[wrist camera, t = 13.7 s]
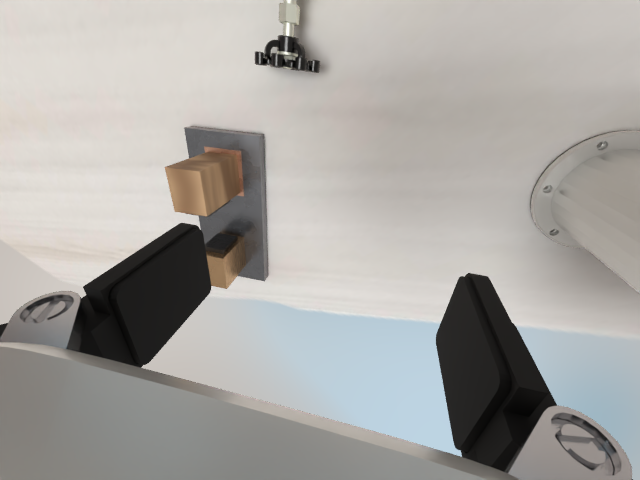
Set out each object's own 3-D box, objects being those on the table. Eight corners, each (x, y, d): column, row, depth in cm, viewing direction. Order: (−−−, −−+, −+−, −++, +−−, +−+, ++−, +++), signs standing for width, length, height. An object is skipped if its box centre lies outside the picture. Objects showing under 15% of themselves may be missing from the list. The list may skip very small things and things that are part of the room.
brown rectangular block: (236, 154, 35) (199, 171, 28) (240, 196, 38) (207, 221, 31) (208, 151, 36) (164, 167, 29) (214, 193, 38) (175, 216, 32)
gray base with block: (263, 134, 35) (235, 145, 28) (268, 275, 46) (248, 306, 39) (191, 126, 36) (148, 134, 30) (212, 264, 47) (184, 292, 41)
